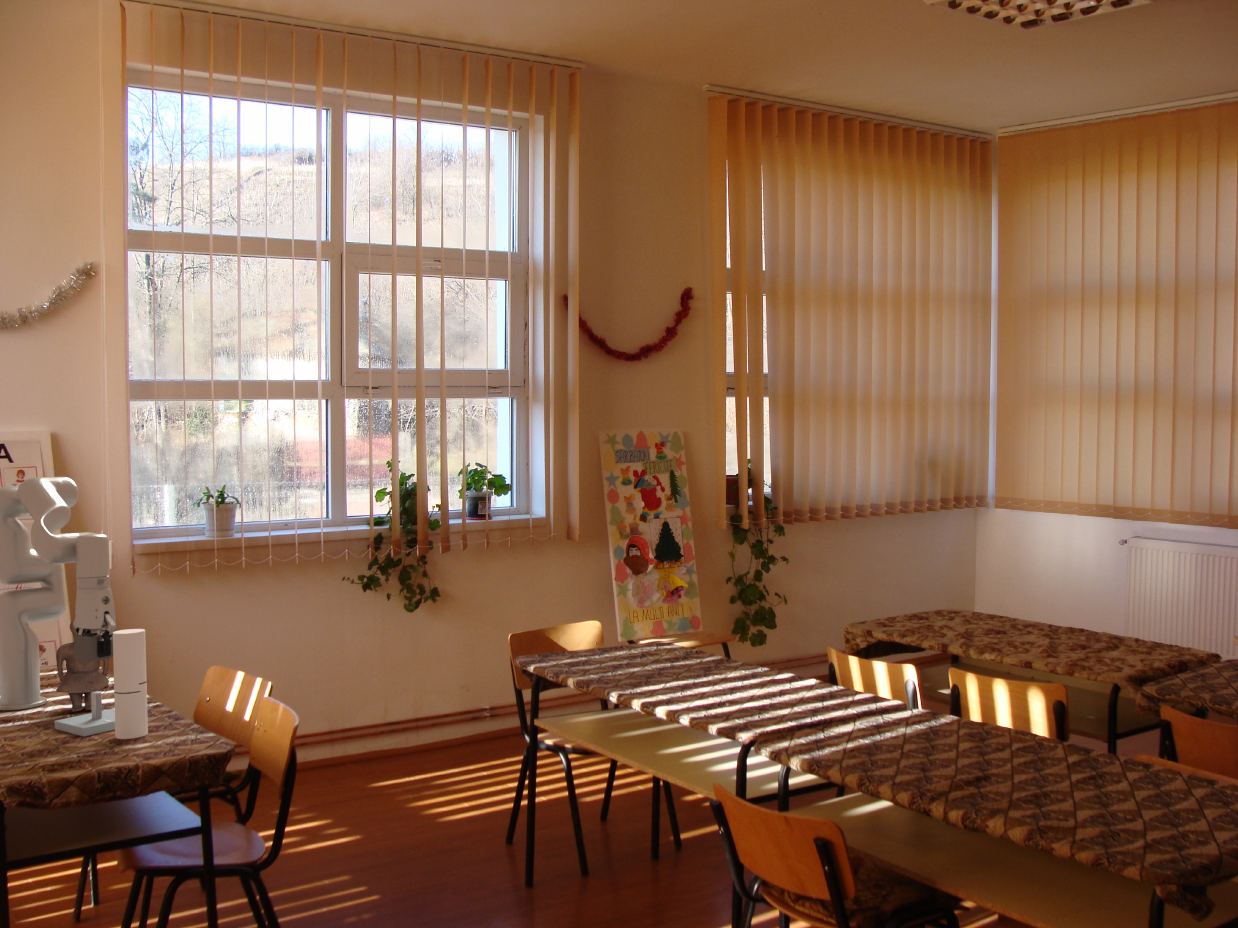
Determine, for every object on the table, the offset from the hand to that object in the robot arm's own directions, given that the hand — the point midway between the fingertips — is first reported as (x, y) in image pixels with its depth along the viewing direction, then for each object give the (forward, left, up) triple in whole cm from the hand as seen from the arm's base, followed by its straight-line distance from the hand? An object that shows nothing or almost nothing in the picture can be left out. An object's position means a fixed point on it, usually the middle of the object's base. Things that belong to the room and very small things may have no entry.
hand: (95, 654), depth 266 cm
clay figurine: (-22, +8, -18) cm, 30 cm away
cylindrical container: (+16, 0, -18) cm, 24 cm away
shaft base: (0, 0, -18) cm, 18 cm away
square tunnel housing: (0, 0, -1) cm, 1 cm away
